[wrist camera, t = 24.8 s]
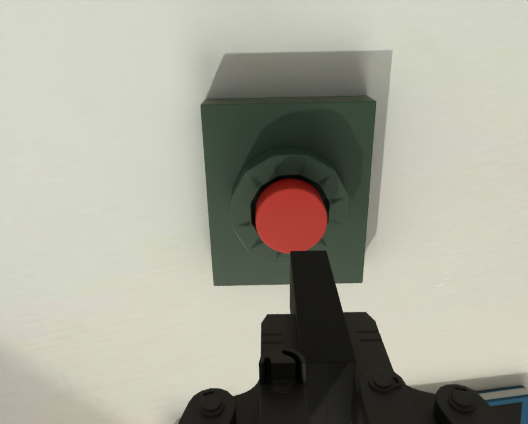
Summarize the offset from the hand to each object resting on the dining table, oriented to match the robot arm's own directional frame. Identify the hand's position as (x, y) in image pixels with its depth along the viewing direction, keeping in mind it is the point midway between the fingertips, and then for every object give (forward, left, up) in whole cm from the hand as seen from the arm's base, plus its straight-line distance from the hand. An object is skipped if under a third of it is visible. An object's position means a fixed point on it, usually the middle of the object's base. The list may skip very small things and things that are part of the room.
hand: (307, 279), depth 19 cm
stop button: (0, 0, -8) cm, 8 cm away
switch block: (0, 0, -12) cm, 12 cm away
